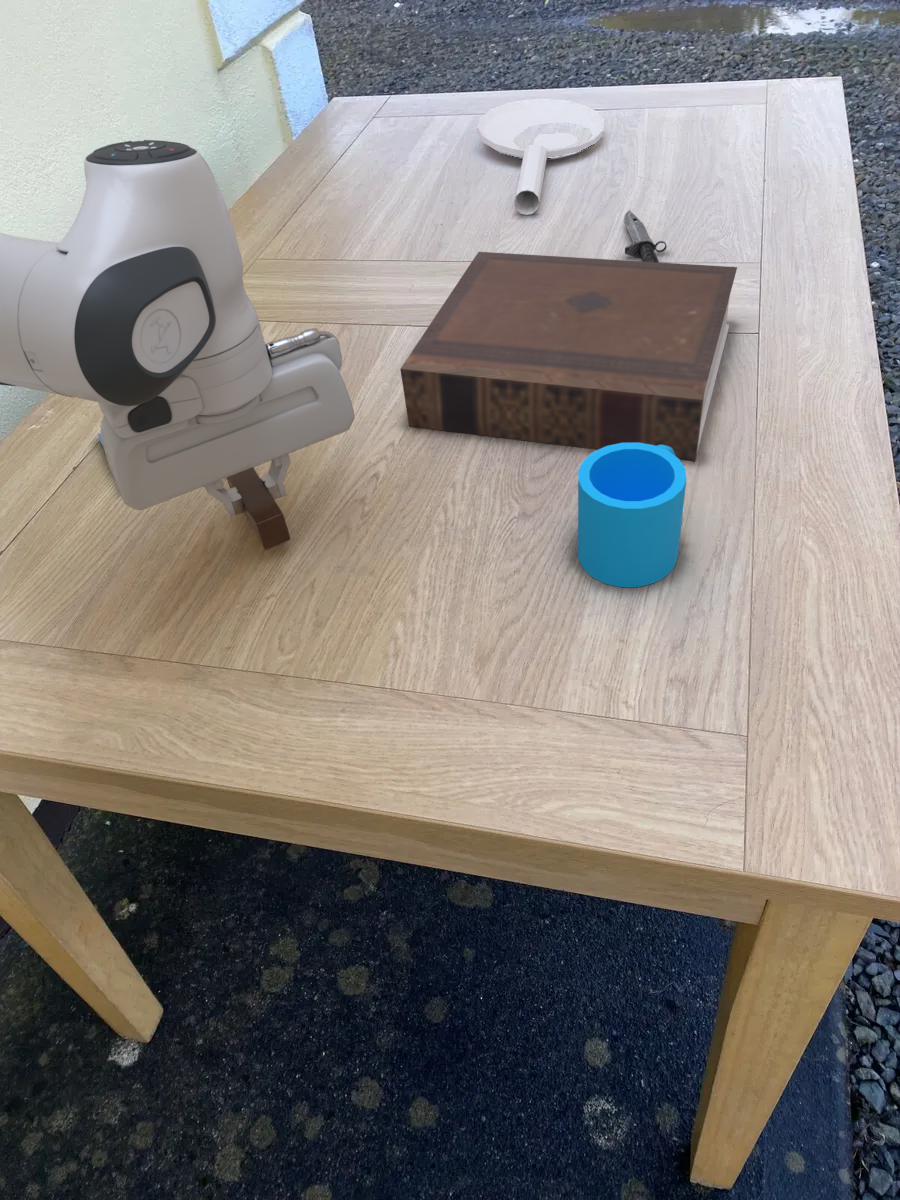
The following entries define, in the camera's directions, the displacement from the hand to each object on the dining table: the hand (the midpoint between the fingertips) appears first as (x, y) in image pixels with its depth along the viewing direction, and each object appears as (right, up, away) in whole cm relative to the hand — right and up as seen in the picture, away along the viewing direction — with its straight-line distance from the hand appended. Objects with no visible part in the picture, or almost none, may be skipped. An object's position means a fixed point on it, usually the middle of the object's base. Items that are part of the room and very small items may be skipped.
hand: (255, 503), depth 80 cm
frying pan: (+30, +56, +55) cm, 84 cm away
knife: (+41, +35, +33) cm, 63 cm away
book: (+30, +15, +15) cm, 37 cm away
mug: (+33, -3, -3) cm, 33 cm away
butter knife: (-2, +2, +5) cm, 6 cm away
